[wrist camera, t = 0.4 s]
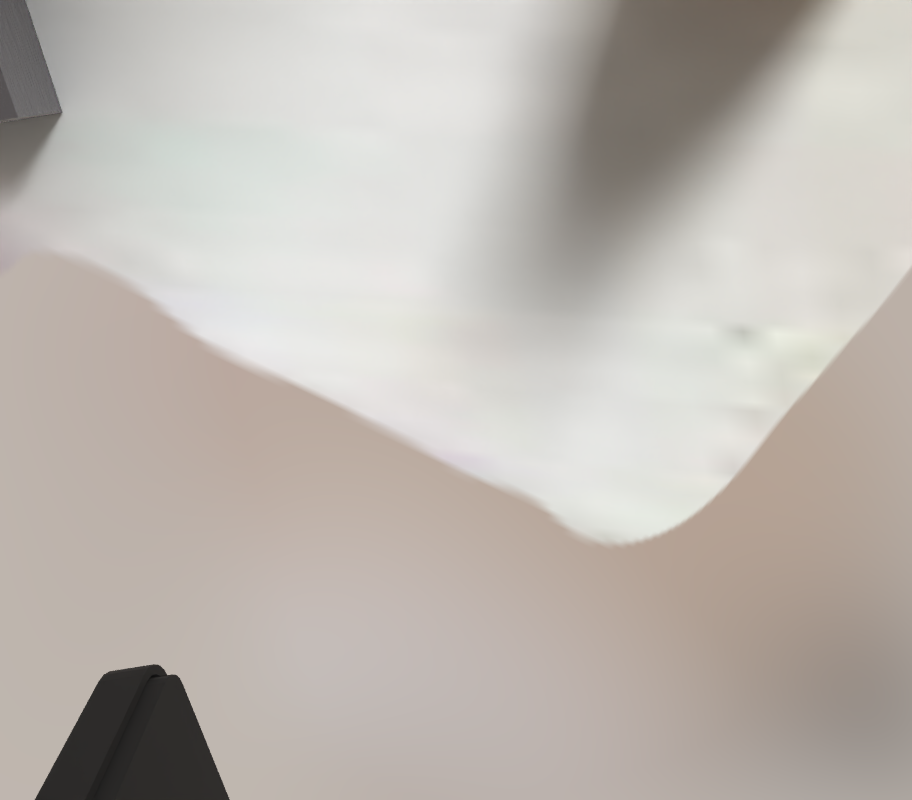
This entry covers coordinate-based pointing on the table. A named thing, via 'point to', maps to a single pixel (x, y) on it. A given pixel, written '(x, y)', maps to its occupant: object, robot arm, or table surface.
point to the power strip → (22, 67)
